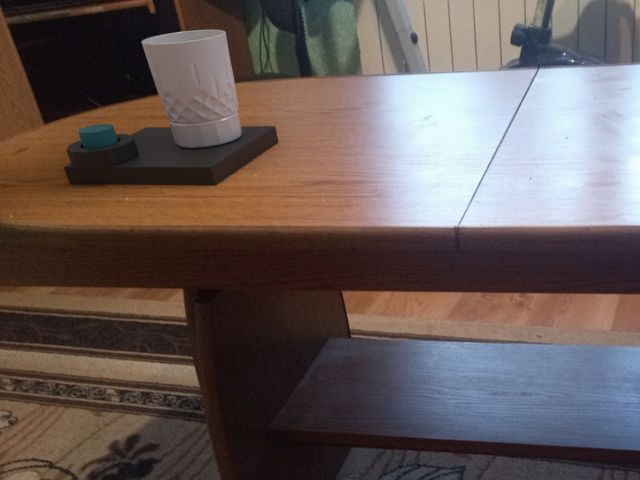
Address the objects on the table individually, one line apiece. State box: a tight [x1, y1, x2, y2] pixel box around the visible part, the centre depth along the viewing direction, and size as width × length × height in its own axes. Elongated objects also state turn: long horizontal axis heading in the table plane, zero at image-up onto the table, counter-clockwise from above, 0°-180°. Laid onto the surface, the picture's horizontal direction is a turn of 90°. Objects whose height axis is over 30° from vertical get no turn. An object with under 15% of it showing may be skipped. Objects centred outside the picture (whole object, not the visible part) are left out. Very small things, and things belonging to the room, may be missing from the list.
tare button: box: [77, 123, 118, 148], centre depth 72 cm, size 3×3×2 cm
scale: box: [63, 125, 279, 186], centre depth 75 cm, size 16×15×4 cm
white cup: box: [141, 29, 242, 148], centre depth 74 cm, size 8×8×10 cm
